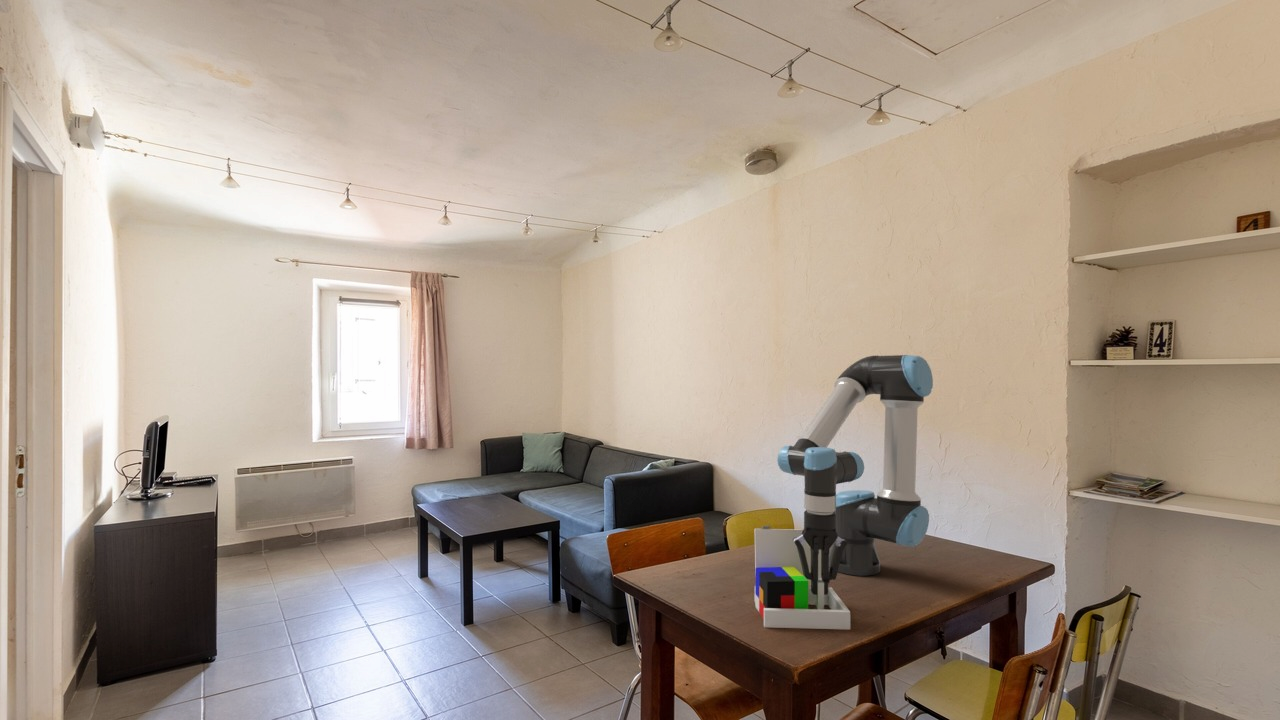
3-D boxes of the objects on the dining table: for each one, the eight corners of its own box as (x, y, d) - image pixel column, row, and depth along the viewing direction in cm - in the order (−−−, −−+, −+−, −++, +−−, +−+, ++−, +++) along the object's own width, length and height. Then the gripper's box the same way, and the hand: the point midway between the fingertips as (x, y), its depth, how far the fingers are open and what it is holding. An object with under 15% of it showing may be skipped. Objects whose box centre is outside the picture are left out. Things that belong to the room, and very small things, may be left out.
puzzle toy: (755, 607, 151) (755, 567, 151) (793, 606, 152) (793, 566, 152) (767, 624, 141) (767, 581, 141) (808, 622, 142) (808, 580, 142)
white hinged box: (831, 603, 154) (831, 587, 154) (850, 629, 138) (850, 612, 138) (754, 601, 154) (754, 585, 155) (764, 627, 139) (764, 610, 139)
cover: (826, 586, 153) (825, 585, 154) (824, 527, 156) (823, 527, 157) (756, 584, 154) (755, 584, 155) (754, 526, 157) (754, 525, 158)
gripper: (842, 508, 150) (841, 601, 150) (790, 507, 150) (789, 600, 150) (851, 515, 142) (851, 614, 142) (796, 514, 143) (796, 613, 143)
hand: (819, 607), depth 146 cm, fingers closed
